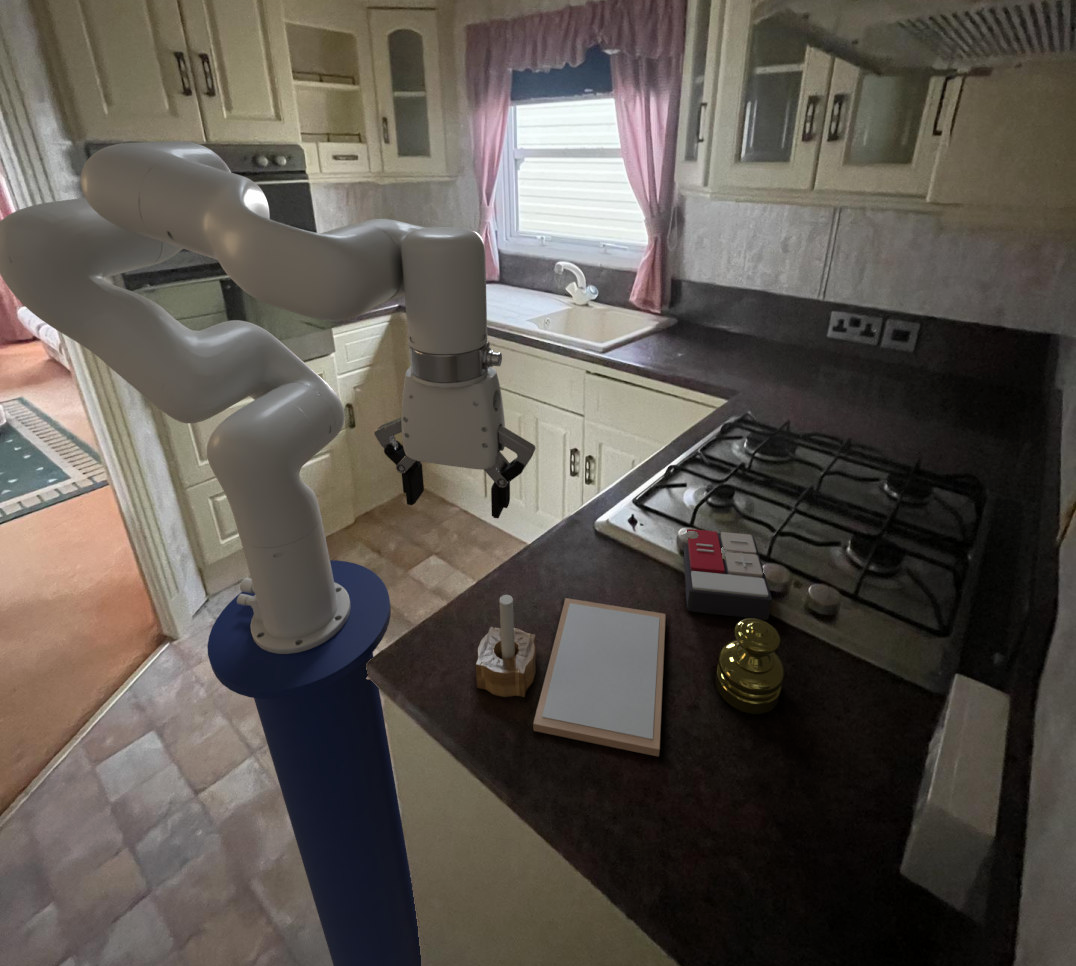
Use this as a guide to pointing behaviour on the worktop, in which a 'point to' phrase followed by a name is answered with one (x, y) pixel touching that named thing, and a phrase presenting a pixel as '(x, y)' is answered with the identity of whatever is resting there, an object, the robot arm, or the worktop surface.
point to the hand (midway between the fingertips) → (456, 504)
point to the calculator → (725, 576)
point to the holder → (506, 664)
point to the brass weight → (751, 668)
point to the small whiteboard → (605, 677)
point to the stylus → (507, 627)
